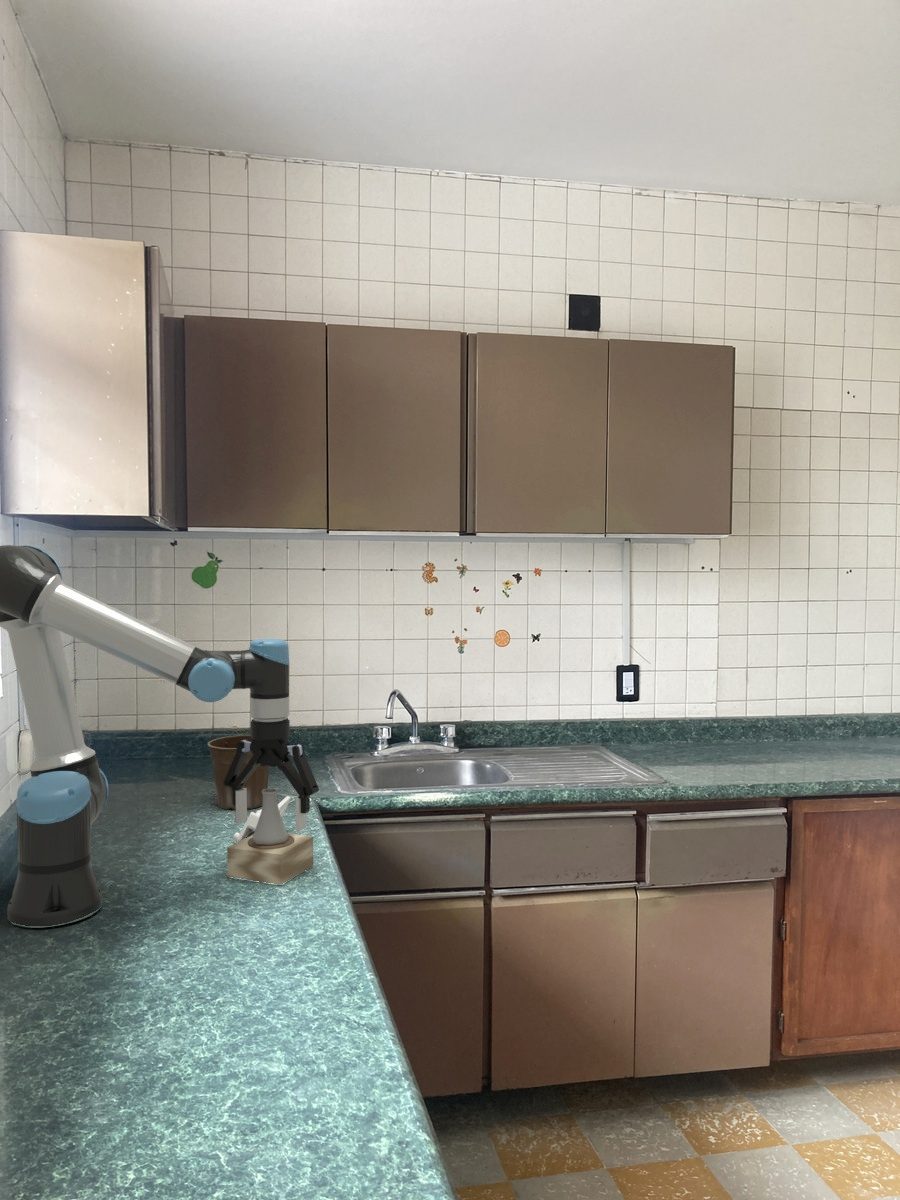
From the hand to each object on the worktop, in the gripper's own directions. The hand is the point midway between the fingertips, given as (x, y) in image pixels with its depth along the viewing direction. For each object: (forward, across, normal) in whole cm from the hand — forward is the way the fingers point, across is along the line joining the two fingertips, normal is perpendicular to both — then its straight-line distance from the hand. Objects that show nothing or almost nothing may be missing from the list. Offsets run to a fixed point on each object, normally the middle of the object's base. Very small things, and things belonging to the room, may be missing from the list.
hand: (270, 825), depth 176 cm
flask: (+3, 0, 0) cm, 3 cm away
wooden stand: (+9, 0, 0) cm, 9 cm away
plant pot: (+10, +34, -40) cm, 53 cm away
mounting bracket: (+10, +14, -18) cm, 25 cm away
